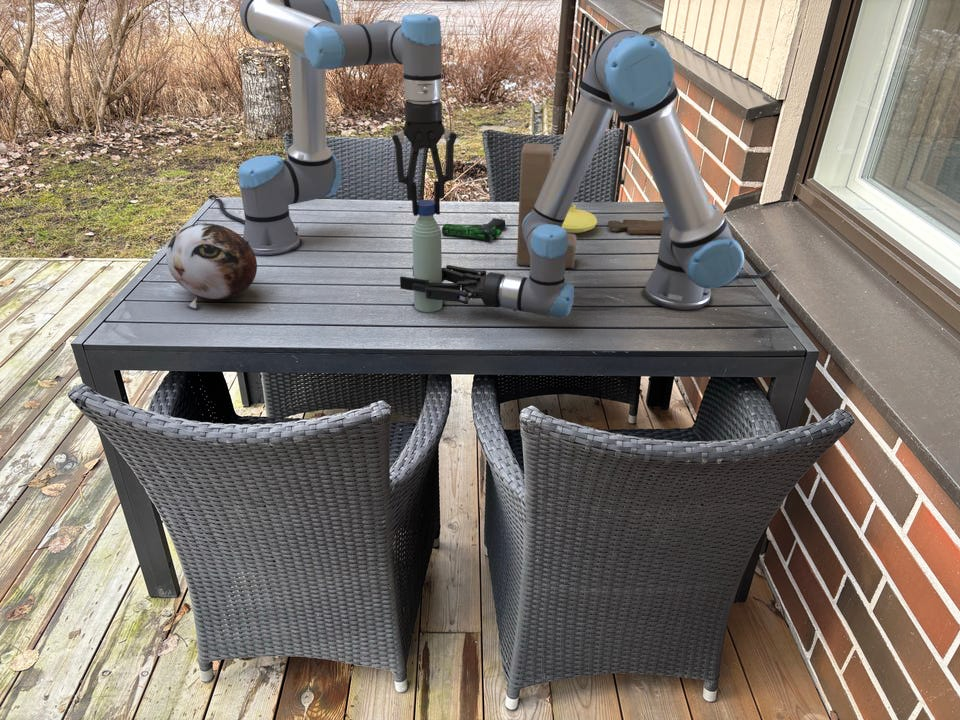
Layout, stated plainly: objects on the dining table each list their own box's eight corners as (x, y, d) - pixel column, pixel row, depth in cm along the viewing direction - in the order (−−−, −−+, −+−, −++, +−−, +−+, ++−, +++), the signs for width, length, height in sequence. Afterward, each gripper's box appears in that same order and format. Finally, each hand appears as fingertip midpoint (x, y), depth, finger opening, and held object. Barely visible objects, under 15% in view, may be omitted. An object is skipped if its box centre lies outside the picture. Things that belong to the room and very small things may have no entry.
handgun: (511, 219, 210) (493, 234, 198) (511, 228, 211) (492, 244, 199) (461, 212, 215) (440, 226, 203) (461, 221, 217) (440, 236, 204)
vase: (559, 216, 220) (561, 193, 217) (605, 227, 212) (608, 204, 209) (532, 230, 209) (533, 207, 206) (580, 242, 201) (582, 218, 198)
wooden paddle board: (699, 237, 207) (691, 225, 216) (700, 231, 206) (692, 220, 215) (610, 234, 207) (606, 222, 216) (611, 228, 207) (607, 217, 215)
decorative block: (573, 269, 185) (584, 153, 170) (516, 265, 187) (521, 149, 171) (574, 258, 192) (584, 145, 176) (518, 254, 193) (523, 142, 178)
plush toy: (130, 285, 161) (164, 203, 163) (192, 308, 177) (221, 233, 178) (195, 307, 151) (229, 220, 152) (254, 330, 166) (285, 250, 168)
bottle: (442, 312, 164) (440, 210, 151) (414, 312, 163) (410, 210, 151) (442, 299, 169) (440, 200, 157) (415, 300, 169) (411, 200, 157)
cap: (411, 213, 154) (411, 203, 153) (425, 208, 157) (424, 198, 156) (427, 217, 152) (426, 207, 151) (440, 212, 155) (440, 202, 154)
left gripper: (381, 105, 138) (387, 221, 150) (469, 103, 141) (468, 216, 153) (378, 97, 144) (384, 209, 156) (462, 95, 148) (461, 205, 160)
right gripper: (489, 325, 152) (390, 308, 158) (514, 289, 168) (423, 275, 174) (490, 293, 148) (388, 277, 154) (515, 259, 164) (422, 246, 170)
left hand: (426, 212), depth 155 cm, fingers closed on cap, 4 cm apart
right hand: (407, 276), depth 164 cm, fingers closed on bottle, 6 cm apart
